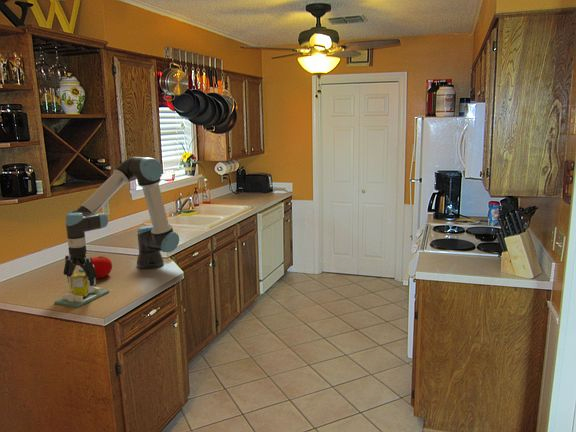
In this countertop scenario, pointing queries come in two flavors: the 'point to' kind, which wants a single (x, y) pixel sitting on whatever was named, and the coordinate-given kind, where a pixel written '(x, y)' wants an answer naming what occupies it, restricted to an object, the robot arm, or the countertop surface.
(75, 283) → the supplement box
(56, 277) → the countertop surface
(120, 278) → the countertop surface
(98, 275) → the tomato
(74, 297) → the board
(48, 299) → the countertop surface
